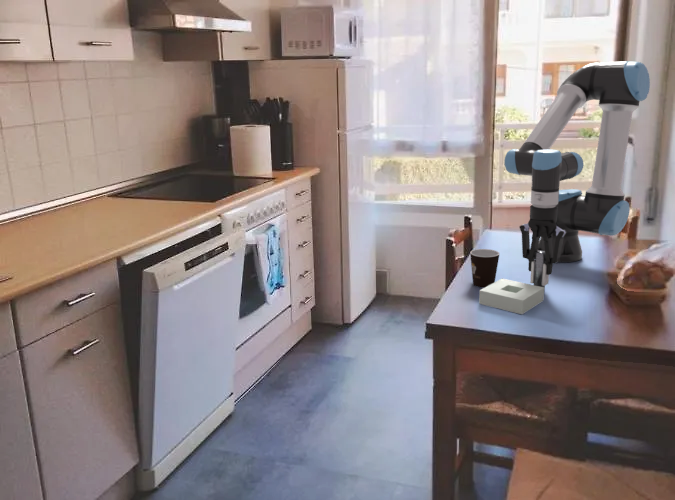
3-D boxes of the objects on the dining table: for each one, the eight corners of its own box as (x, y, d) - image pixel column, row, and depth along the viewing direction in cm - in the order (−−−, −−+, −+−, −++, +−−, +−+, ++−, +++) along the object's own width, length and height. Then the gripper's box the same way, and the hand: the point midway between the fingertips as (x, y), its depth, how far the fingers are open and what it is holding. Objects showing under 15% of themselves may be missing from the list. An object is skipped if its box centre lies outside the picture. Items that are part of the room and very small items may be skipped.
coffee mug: (498, 289, 188) (500, 257, 185) (469, 288, 190) (470, 256, 187) (497, 277, 199) (498, 246, 196) (469, 276, 201) (470, 245, 198)
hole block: (501, 291, 187) (502, 278, 185) (543, 300, 178) (544, 287, 177) (479, 303, 177) (479, 290, 176) (522, 314, 169) (522, 300, 168)
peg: (536, 288, 188) (538, 249, 185) (546, 290, 186) (548, 251, 182) (531, 291, 186) (533, 252, 182) (541, 293, 184) (544, 254, 180)
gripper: (511, 204, 181) (508, 281, 188) (566, 211, 171) (560, 292, 177) (523, 199, 186) (520, 274, 193) (577, 206, 176) (571, 285, 183)
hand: (539, 283), depth 185 cm, fingers closed on peg, 3 cm apart
